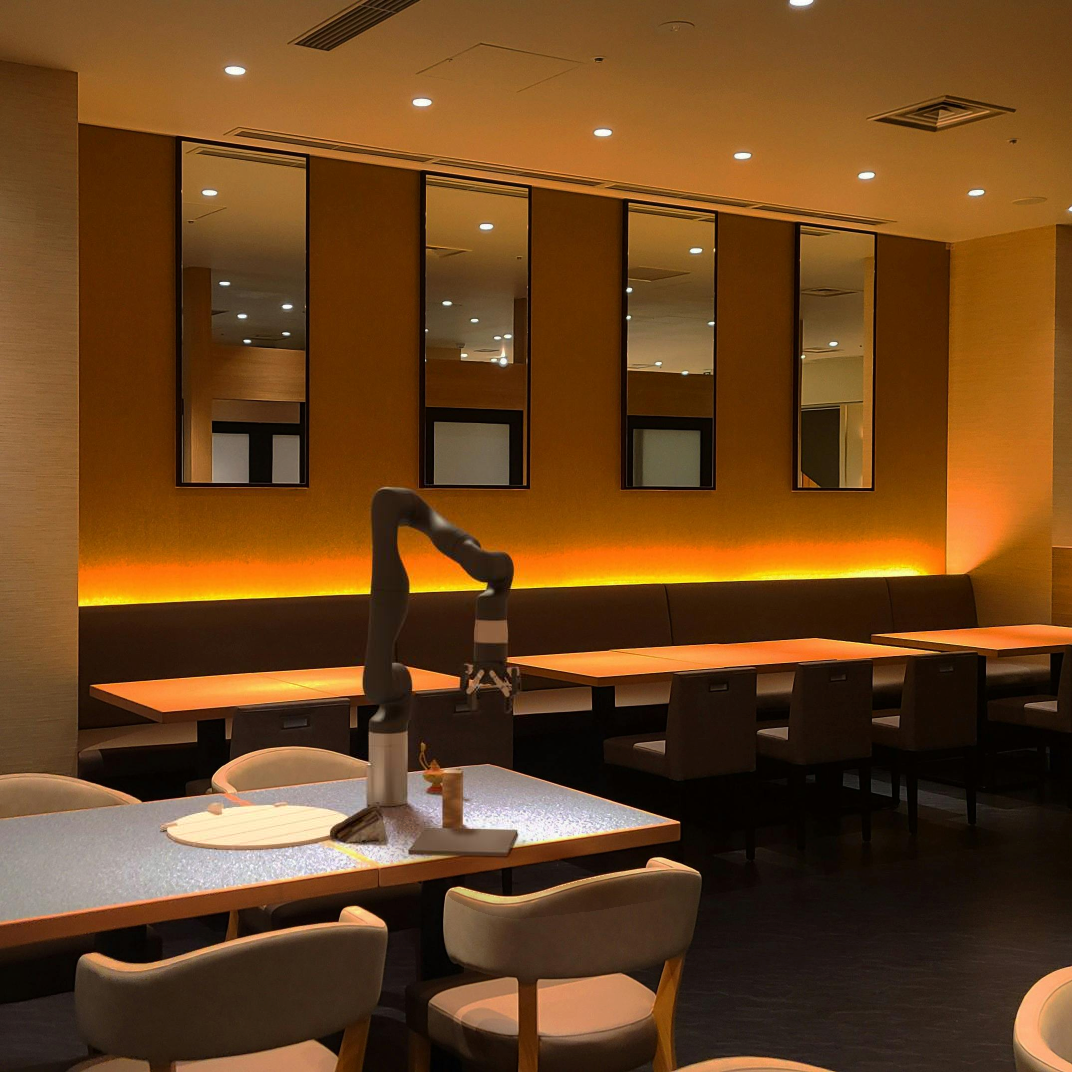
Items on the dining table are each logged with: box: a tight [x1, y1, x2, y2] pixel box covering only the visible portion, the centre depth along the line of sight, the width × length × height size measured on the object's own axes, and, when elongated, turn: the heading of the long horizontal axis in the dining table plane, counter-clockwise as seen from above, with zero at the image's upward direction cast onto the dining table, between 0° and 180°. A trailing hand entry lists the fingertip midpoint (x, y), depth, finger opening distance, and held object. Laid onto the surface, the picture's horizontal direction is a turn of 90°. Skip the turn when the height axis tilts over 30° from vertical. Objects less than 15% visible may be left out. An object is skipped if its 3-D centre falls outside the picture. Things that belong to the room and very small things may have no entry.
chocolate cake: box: [330, 802, 388, 844], centre depth 276 cm, size 10×7×12 cm
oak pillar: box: [441, 769, 464, 828], centre depth 289 cm, size 4×4×12 cm
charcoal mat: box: [407, 827, 518, 857], centre depth 272 cm, size 20×20×1 cm
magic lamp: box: [419, 742, 463, 793], centre depth 328 cm, size 7×18×11 cm, turn 40°
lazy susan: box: [160, 801, 349, 850], centre depth 287 cm, size 40×39×3 cm
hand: (489, 711), depth 295 cm, fingers open, 8 cm apart
